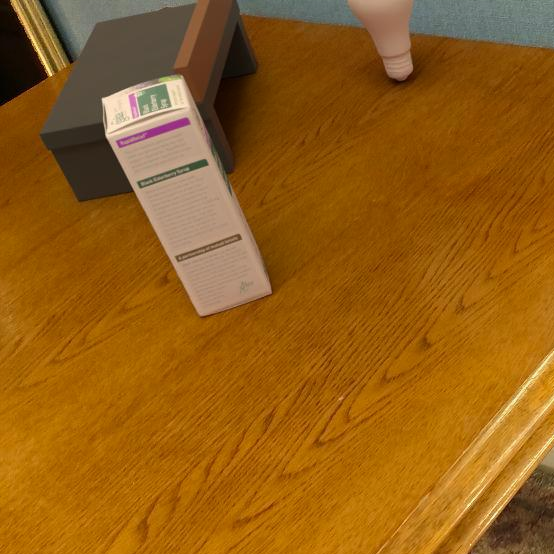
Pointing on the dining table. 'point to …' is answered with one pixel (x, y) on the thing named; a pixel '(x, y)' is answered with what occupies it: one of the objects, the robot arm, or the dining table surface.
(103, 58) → the grey lidded gift box
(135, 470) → the dining table surface
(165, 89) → the syrup box
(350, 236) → the dining table surface
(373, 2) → the lightbulb
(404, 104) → the dining table surface
